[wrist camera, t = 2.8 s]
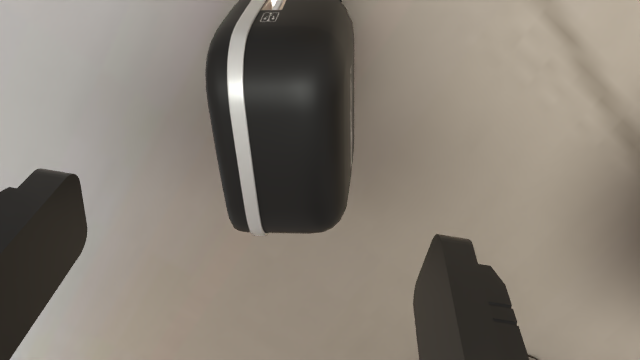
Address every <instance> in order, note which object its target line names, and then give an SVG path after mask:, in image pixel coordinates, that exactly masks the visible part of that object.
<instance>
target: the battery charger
mask: <svg viewBox="0 0 640 360" xmlns="http://www.w3.org/2000/svg"><path fill="white" fill-rule="evenodd" d="M206 91H207V99H208V107H209V113H210V119H211V125H212V131H213V136H214V142H215V148H216V154H217V160H218V165H219V171H220V176H221V181H222V186H223V192H224V197H225V202H226V207H227V211H228V215H229V219H230V221H231V222H232V224H233V226H234V228H235V229H237V230H239V231H243V232H251V233H252V234H253V235H254V236H266V235H268V234H269V233H319V232H324V231H326V230H328V229H331V228H333V227H334V226H335V225H336V224H337V223H338V222H339V221H340V219H341V217H342V215H343V213H344V211H345V209H346V206H347V200H348V193H349V186H350V179H351V171H352V161H353V149H354V34H353V23H352V21H351V19H350V17H349V15H348V13H347V10H346V8H345V7H344V5H343V4H342V3H341V0H239V1H238V2H237V4H236V5H235V6H234V7H233V8H232V10H231V11H230V12H229V14H228V15H227V16H226V18H225V19H224V20H223V22H222V23H221V25H220V26H219V28H218V29H217V31H216V33H215V35H214V37H213V39H212V41H211V43H210V46H209V50H208V54H207V61H206Z"/></svg>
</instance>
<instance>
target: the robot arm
mask: <svg viewBox="0 0 640 360" xmlns="http://www.w3.org/2000/svg"><path fill="white" fill-rule="evenodd" d="M86 237H87V223H86V216H85V210H84V204H83V198H82V191H81V185H80V180H79V178H78V176H77V175H75V174H71V173H65V172H58V171H52V170H46V169H37V170H35V171H34V172H33V173H32V174H31V175H30V176H29V177H28V178H27V179H26V180H25V181H24V182H23V183H22V184H21V185H20V186H19V187H18V188H11V187H9V188H7V189H5V190H3V191H1V192H0V360H10V358H11V357H12V355H13V354H14V352H15V351H16V349H17V348H18V346H19V345H20V343H21V342H22V340H23V339H24V337H25V336H26V334H27V333H28V331H29V330H30V328H31V327H32V325H33V324H34V322H35V321H36V319H37V318H38V316H39V315H40V313H41V312H42V310H43V309H44V307H45V306H46V304H47V303H48V302H49V300H50V299H51V297H52V296H53V294H54V293H55V291H56V290H57V288H58V287H59V285H60V284H61V282H62V281H63V279H64V278H65V276H66V275H67V273H68V272H69V270H70V269H71V267H72V266H73V264H74V263H75V261H76V260H77V258H78V257H79V255H80V254H81V252H82V250H83V248H84V245H85V242H86ZM413 306H414V316H415V325H416V334H417V343H418V352H419V360H536V359H534V358H531V357H528V354H527V351H526V348H525V345H524V342H523V339H522V336H521V333H520V329H519V326H517V320H516V317H515V314H514V311H513V309H511V306H512V305H511V301H510V298H509V295H508V292H507V289H506V286H505V284H504V283H503V282H502V280H501V279H500V278H499V276H498V275H497V274H496V273H495V271H494V270H493V269H492V267H491V266H487V265H481V264H478V263H477V259H476V255H475V252H474V248H473V245H472V242H471V241H470V240H469V239H463V238H457V237H451V236H445V235H439V234H436V235H435V236H434V238H433V240H432V242H431V245H430V247H429V250H428V252H427V255H426V258H425V260H424V263H423V265H422V268H421V271H420V273H419V276H418V279H417V281H416V285H415V290H414V301H413Z"/></svg>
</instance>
